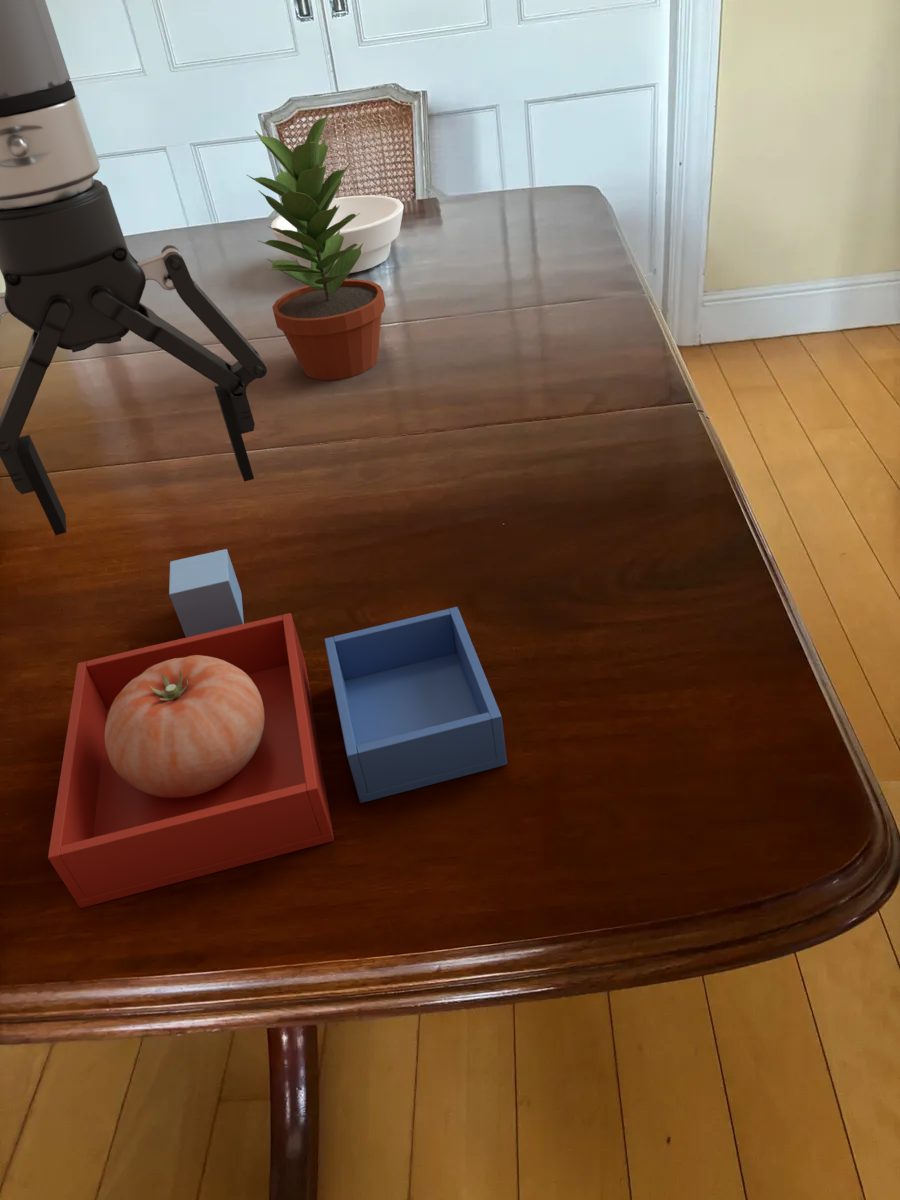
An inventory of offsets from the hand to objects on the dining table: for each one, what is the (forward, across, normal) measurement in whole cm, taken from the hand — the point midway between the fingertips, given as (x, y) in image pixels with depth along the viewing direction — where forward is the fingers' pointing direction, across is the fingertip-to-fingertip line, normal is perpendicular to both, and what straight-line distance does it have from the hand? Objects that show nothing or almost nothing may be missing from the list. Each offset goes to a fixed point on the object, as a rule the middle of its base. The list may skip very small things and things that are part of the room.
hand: (155, 498), depth 66 cm
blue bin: (+16, +13, -15) cm, 25 cm away
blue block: (+15, +1, +5) cm, 16 cm away
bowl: (+16, +38, +94) cm, 103 cm away
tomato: (+15, -3, -13) cm, 20 cm away
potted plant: (+16, +25, +53) cm, 60 cm away
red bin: (+15, -2, -13) cm, 20 cm away
